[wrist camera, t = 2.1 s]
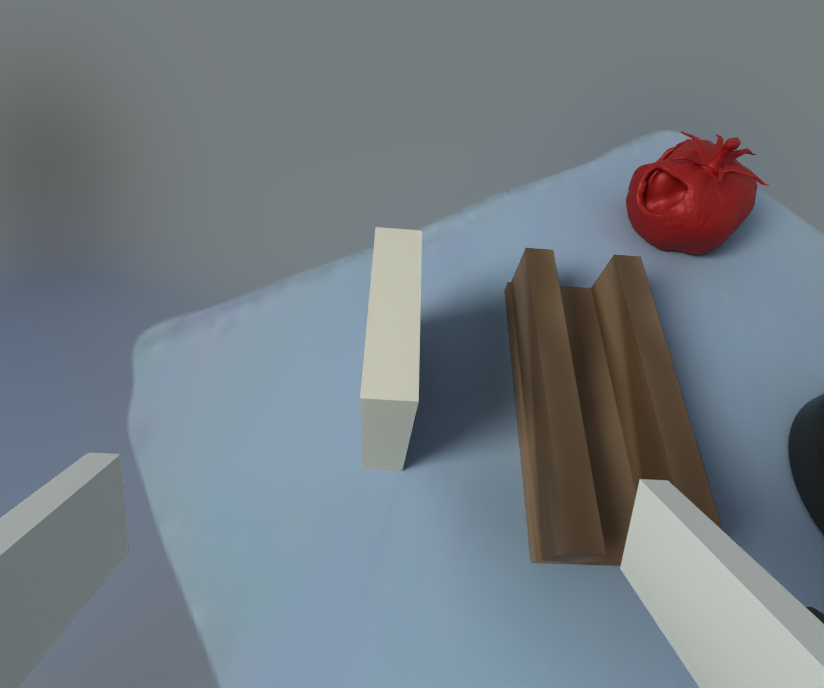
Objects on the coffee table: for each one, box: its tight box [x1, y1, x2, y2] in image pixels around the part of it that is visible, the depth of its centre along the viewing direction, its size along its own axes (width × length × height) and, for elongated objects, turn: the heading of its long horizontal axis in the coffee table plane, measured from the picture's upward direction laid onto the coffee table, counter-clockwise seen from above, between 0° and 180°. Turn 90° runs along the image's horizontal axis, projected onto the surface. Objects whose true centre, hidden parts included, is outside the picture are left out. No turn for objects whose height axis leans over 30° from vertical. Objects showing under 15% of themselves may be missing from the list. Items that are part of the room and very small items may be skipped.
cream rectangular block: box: [360, 227, 422, 471], centre depth 27 cm, size 2×10×11 cm, turn 178°
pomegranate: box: [626, 132, 768, 254], centre depth 39 cm, size 10×10×9 cm
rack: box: [505, 248, 723, 566], centre depth 30 cm, size 9×20×5 cm, turn 179°
